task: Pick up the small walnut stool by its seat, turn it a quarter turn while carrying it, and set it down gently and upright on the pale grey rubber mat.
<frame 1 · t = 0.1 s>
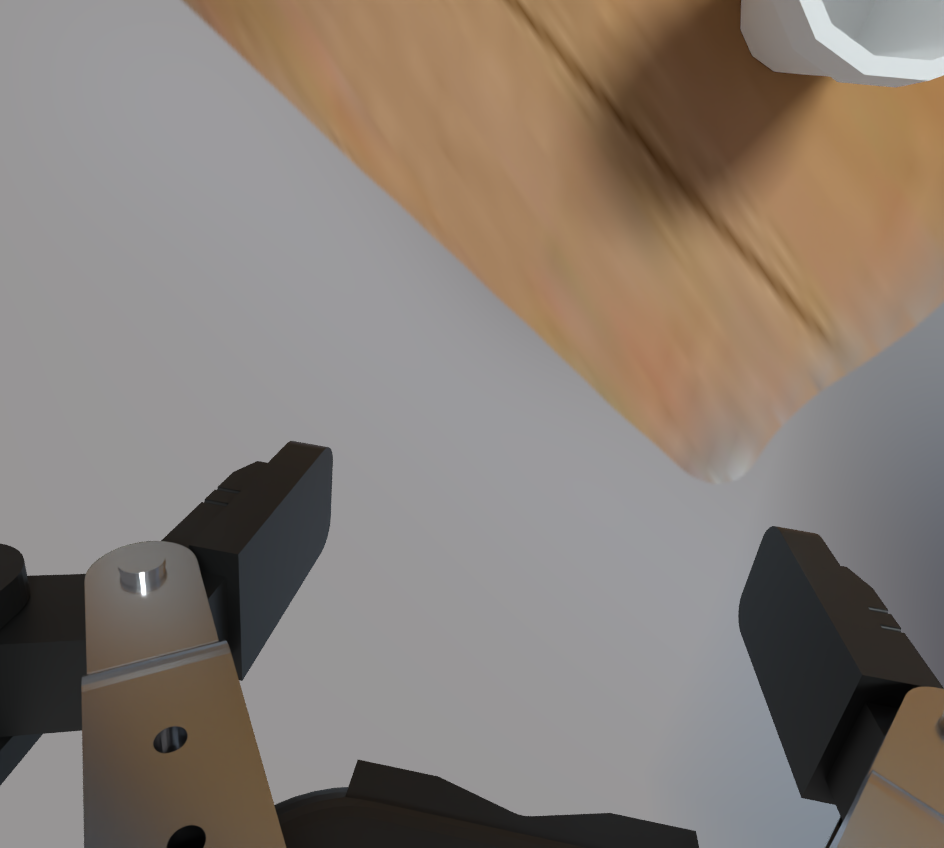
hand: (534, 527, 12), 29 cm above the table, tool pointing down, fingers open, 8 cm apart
foam cup: (804, 3, 32), on the table
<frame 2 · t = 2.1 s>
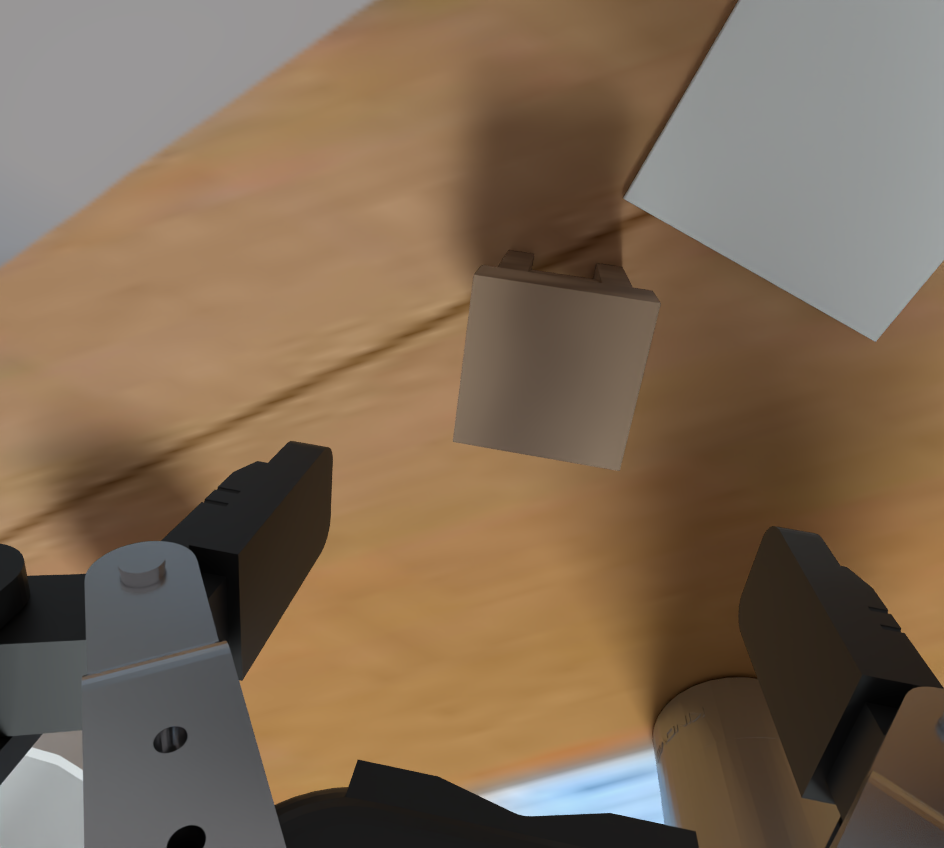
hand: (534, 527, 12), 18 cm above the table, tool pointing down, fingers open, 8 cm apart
mat: (847, 127, 24), on the table
foam cup: (207, 615, 38), on the table
stool: (555, 314, 28), on the table
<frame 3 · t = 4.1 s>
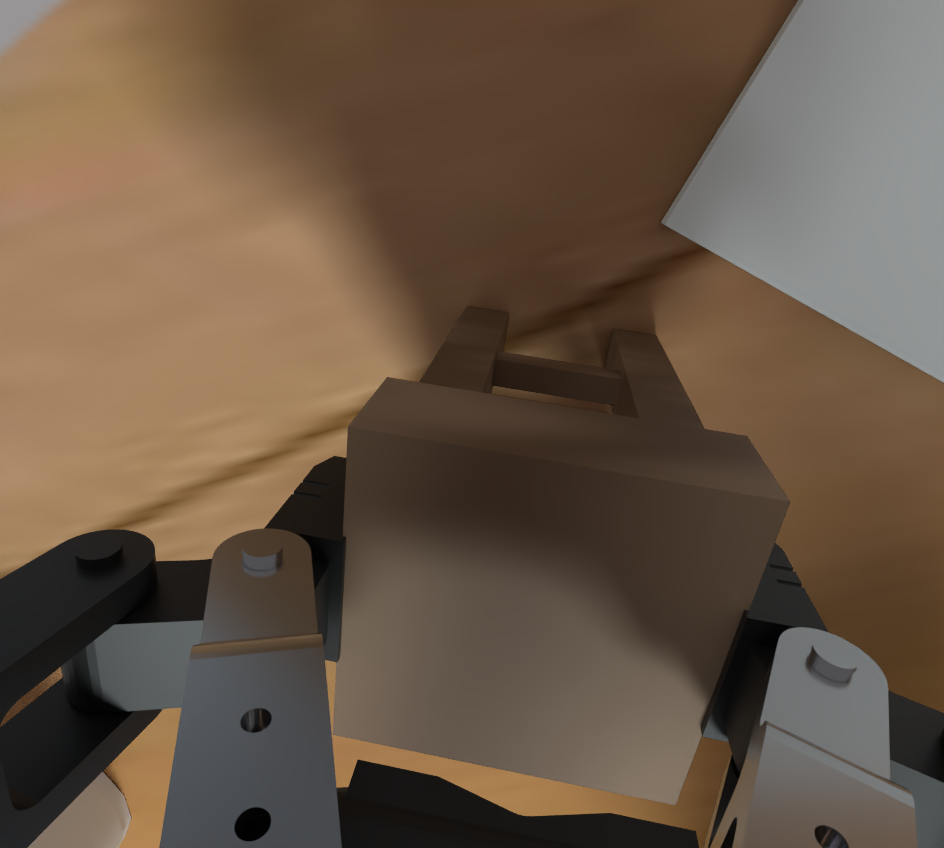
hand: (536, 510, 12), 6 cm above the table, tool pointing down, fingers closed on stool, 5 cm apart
foam cup: (64, 794, 27), on the table
stool: (544, 407, 17), on the table, touching gripper
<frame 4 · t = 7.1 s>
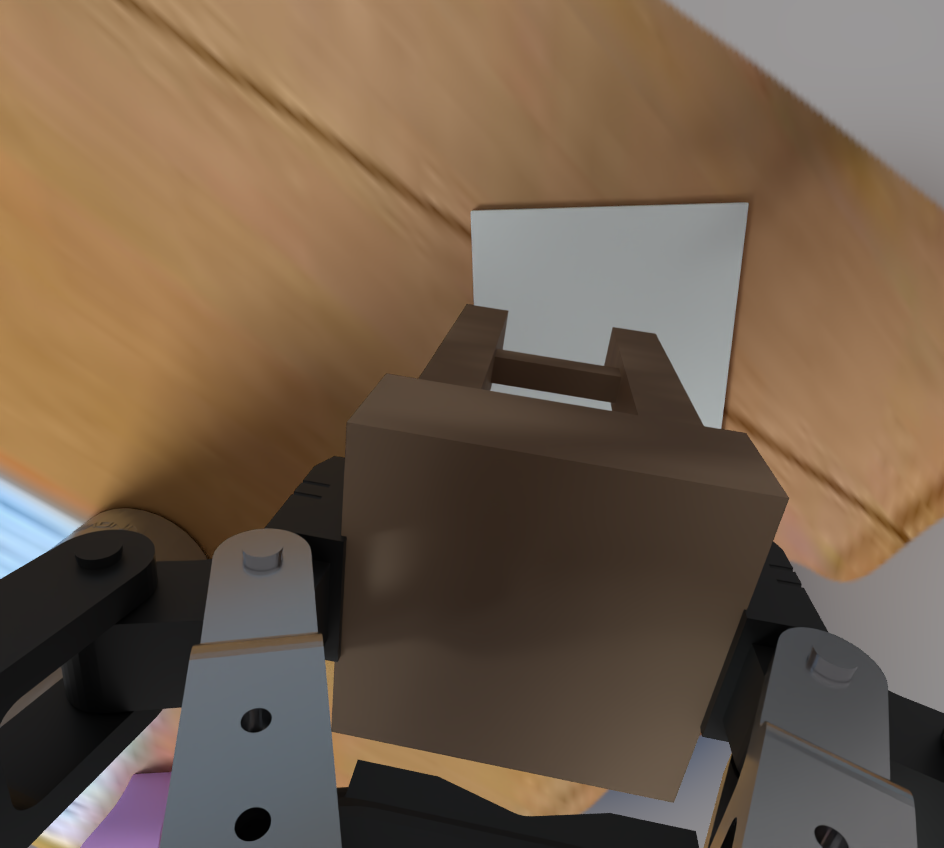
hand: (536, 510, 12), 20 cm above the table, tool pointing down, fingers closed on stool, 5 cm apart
mat: (599, 336, 31), on the table
toy chair: (190, 805, 49), on the table
stool: (544, 406, 17), point 14 cm above the table, touching gripper
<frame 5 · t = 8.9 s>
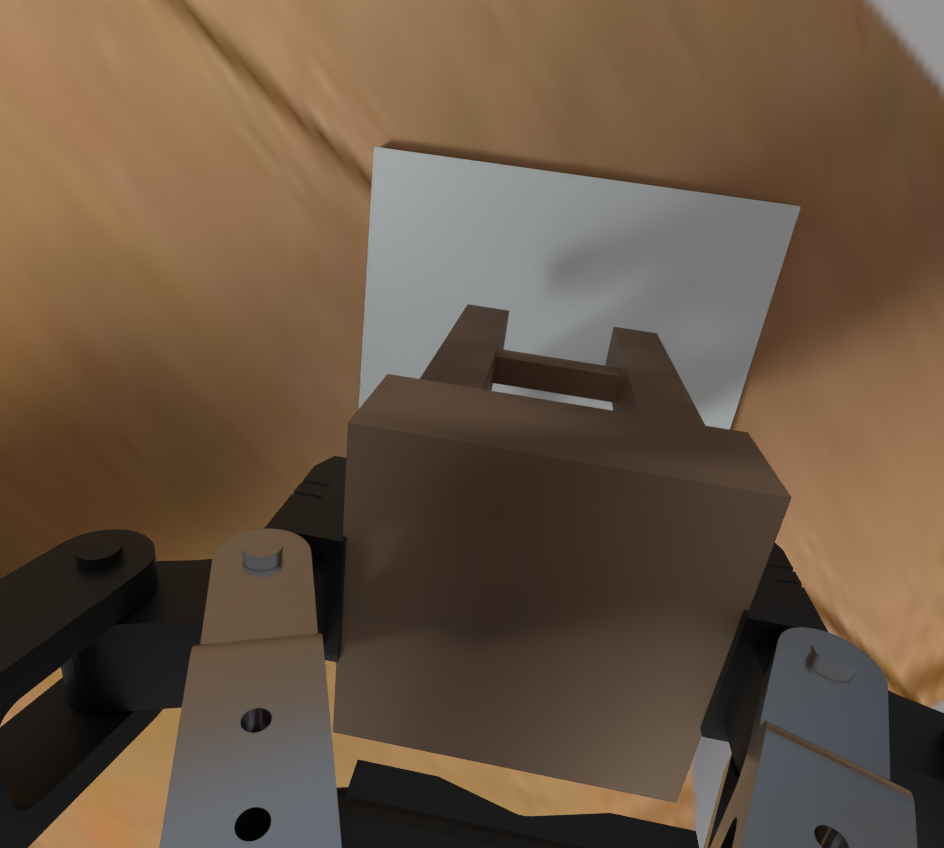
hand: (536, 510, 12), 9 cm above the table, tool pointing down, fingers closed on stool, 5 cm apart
mat: (546, 371, 21), on the table
stool: (545, 405, 17), point 4 cm above the table, touching gripper
when the fingers open (7 cm above the table, at t = 10.1 s): stool drops 1 cm, resting on mat.
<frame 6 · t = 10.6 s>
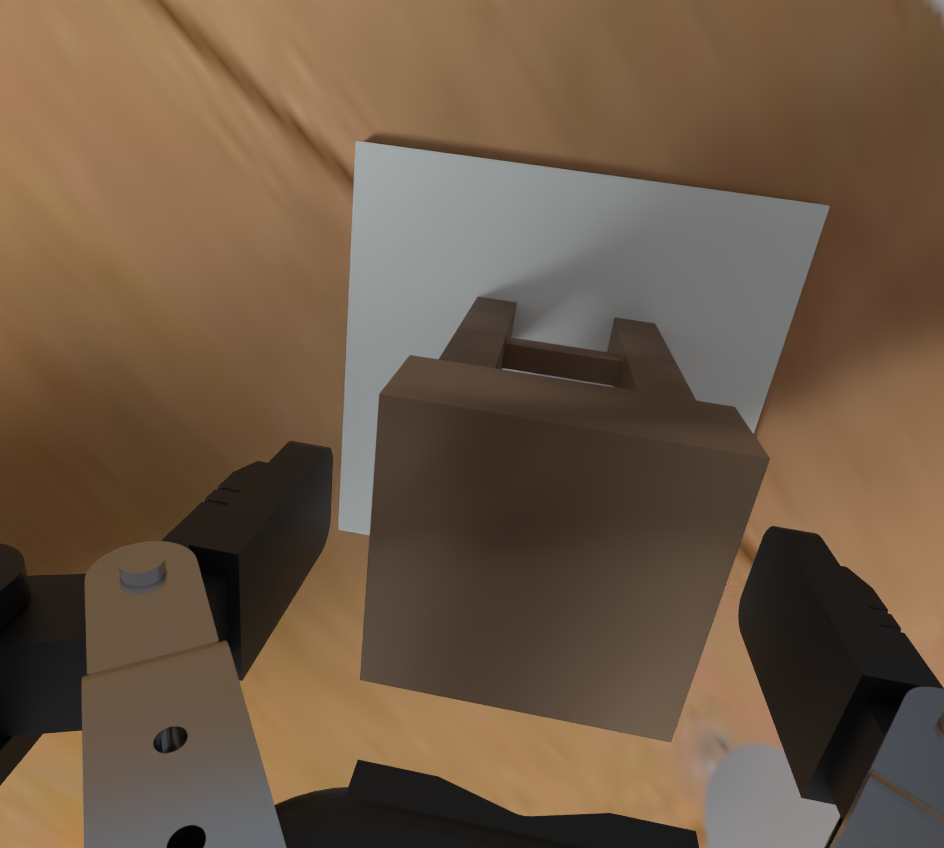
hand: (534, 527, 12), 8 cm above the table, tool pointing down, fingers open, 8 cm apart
mat: (546, 386, 19), on the table
stool: (550, 392, 18), point 1 cm above the table, touching mat
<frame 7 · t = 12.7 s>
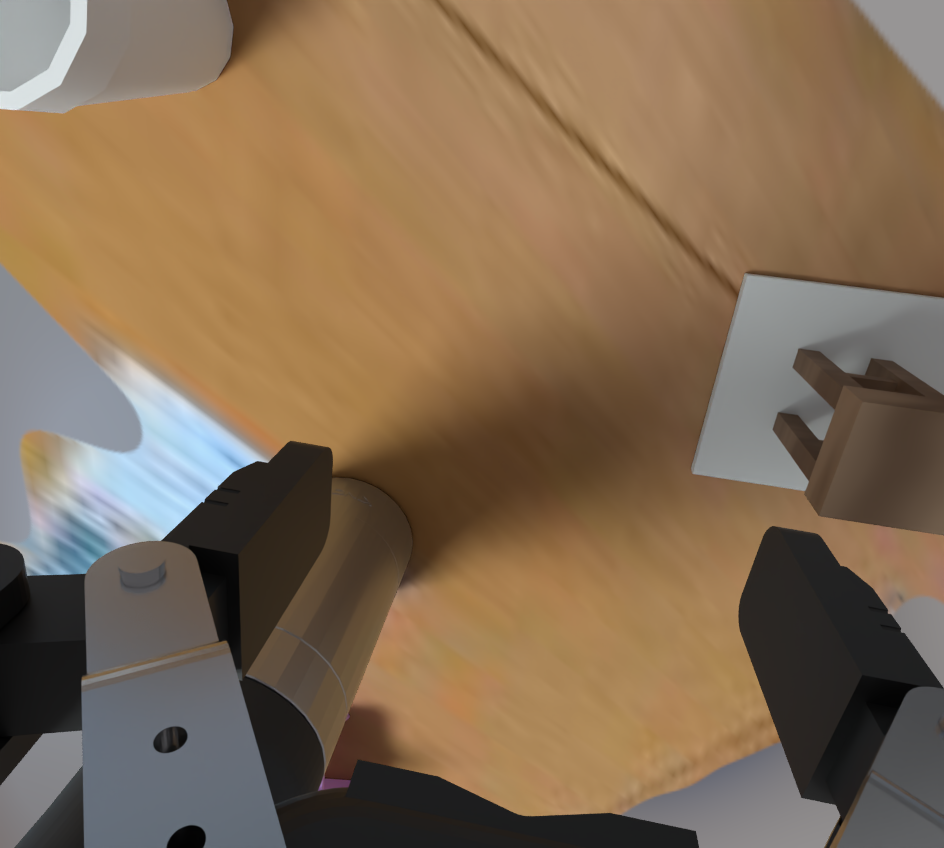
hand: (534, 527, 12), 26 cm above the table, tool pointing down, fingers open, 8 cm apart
mat: (824, 392, 36), on the table
foam cup: (178, 24, 33), on the table
stool: (830, 396, 35), point 1 cm above the table, touching mat
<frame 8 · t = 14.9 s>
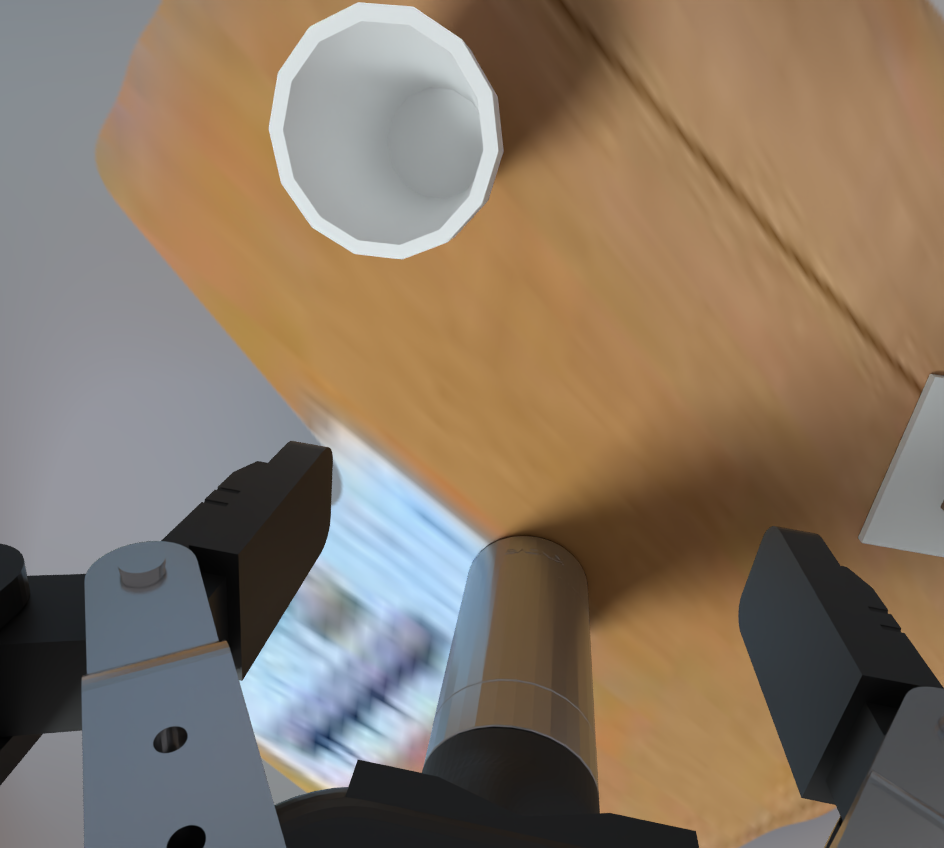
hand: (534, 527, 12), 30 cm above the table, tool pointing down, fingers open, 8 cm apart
foam cup: (440, 144, 38), on the table
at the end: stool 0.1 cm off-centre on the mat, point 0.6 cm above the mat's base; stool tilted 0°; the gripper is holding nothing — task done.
